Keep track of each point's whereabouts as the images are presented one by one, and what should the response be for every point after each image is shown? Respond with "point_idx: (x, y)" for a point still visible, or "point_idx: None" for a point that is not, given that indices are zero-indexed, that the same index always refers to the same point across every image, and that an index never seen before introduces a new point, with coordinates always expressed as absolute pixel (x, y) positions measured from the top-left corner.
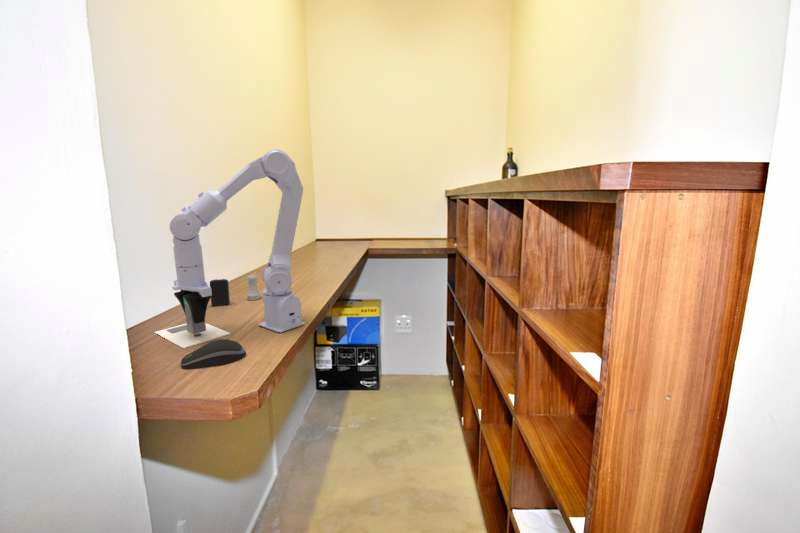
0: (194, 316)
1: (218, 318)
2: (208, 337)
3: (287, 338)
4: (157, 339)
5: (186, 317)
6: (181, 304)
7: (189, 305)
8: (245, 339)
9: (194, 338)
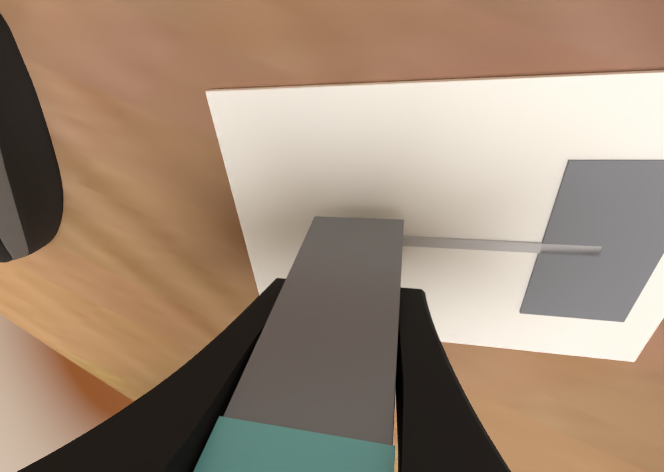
0: (239, 319)
1: (551, 406)
2: (278, 250)
3: (104, 366)
4: (594, 22)
5: (385, 297)
6: (455, 429)
7: (172, 417)
8: (167, 312)
9: (320, 203)
